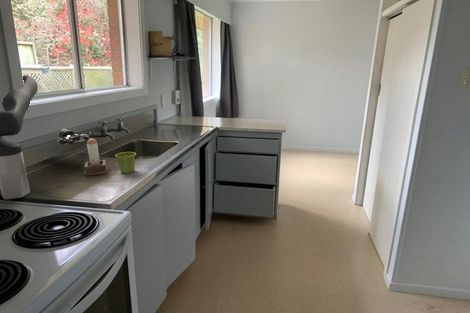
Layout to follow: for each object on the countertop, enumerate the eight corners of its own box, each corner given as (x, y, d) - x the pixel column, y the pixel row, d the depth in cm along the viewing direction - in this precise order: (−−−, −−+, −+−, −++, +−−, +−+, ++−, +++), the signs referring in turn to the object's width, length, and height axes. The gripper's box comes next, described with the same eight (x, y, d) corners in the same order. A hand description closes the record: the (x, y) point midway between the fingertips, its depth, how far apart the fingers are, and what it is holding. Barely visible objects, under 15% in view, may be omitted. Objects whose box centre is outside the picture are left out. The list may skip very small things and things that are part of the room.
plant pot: (116, 169, 156) (114, 152, 153) (136, 167, 160) (134, 150, 157) (117, 175, 148) (115, 158, 145) (138, 173, 151) (137, 155, 149)
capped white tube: (100, 169, 152) (96, 139, 148) (90, 171, 151) (85, 140, 147) (100, 167, 156) (96, 137, 152) (91, 168, 155) (86, 138, 150)
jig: (107, 173, 151) (106, 165, 150) (84, 175, 148) (83, 167, 147) (107, 166, 160) (106, 159, 159) (85, 169, 157) (84, 161, 156)
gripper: (50, 131, 159) (65, 135, 150) (78, 127, 170) (93, 131, 161) (52, 146, 162) (67, 151, 152) (79, 141, 172) (95, 145, 163)
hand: (81, 140), depth 156 cm, fingers open, 8 cm apart
